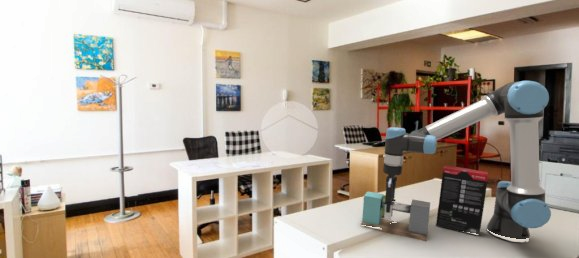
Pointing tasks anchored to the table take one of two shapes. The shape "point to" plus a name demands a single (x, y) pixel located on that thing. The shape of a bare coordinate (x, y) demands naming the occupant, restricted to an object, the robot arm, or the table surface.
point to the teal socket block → (372, 208)
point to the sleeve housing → (419, 217)
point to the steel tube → (398, 206)
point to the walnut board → (396, 229)
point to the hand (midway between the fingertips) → (388, 217)
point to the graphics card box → (462, 199)
